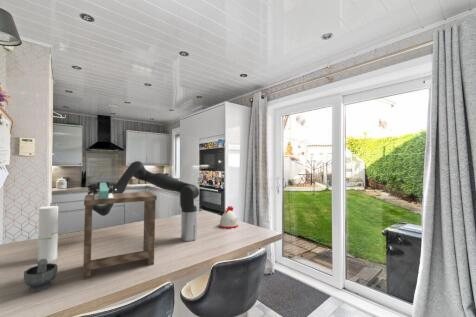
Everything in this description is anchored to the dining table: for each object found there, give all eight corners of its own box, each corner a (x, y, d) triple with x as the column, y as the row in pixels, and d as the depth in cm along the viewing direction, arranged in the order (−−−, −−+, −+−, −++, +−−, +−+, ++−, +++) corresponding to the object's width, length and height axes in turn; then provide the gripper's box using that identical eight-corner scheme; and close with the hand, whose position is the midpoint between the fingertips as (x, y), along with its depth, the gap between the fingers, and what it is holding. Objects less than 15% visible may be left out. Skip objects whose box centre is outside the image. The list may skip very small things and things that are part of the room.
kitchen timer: (241, 226, 171) (242, 206, 171) (228, 230, 161) (229, 209, 161) (228, 222, 180) (229, 203, 180) (215, 226, 170) (216, 206, 170)
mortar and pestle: (23, 286, 86) (23, 254, 86) (54, 278, 92) (55, 248, 93) (24, 300, 78) (25, 264, 78) (58, 289, 84) (59, 257, 85)
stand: (148, 252, 119) (149, 190, 119) (155, 265, 105) (156, 195, 106) (83, 265, 104) (85, 194, 105) (82, 280, 91) (84, 199, 91)
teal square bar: (106, 188, 118) (106, 182, 118) (108, 198, 96) (108, 190, 96) (99, 188, 116) (99, 182, 116) (100, 198, 94) (100, 191, 94)
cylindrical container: (60, 257, 112) (61, 206, 112) (44, 263, 105) (45, 209, 105) (50, 255, 114) (52, 205, 114) (34, 261, 107) (35, 207, 108)
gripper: (87, 191, 122) (86, 177, 110) (116, 190, 130) (119, 176, 117) (86, 204, 119) (85, 191, 106) (116, 202, 126) (119, 190, 114)
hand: (103, 183), depth 112 cm, fingers closed on teal square bar, 2 cm apart
